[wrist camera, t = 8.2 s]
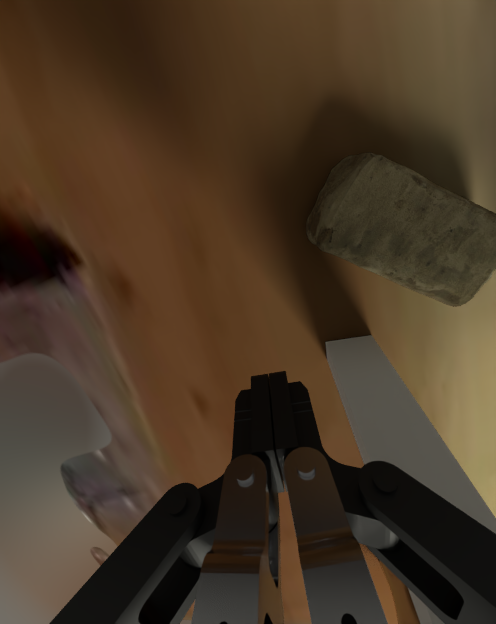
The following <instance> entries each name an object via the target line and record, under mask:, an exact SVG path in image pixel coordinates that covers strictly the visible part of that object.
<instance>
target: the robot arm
mask: <svg viewBox="0 0 496 624" xmlns="http://www.w3.org/2000/svg"><path fill="white" fill-rule="evenodd" d="M234 421H235V422H234V433H233V449H232V459H231V462H230V464H229V465H228V466H227V468H226V470H225V473H224V474H223V475H222V476H221V477H219V478H218V479H217V480H215V481H213V482H211V483H209V484H207V485H205V486H203V487H201V488H199V489H197V488H196V486H194V485H193V484H190V483H181V484H178V485H175V486H174V487H172V488H171V489H169V490H168V491H167V492H166V493H165V494H164V495H163V497H162V498H161V499H160V500H159V501H158V502H157V503H156V504H155V506H154V507H153V508H152V509H151V510H150V511H149V512H148V513H147V515H146V516H145V517H144V518H143V519H142V520H141V521H140V522H139V524H138V525H137V526H136V527H135V528H134V529H133V530H132V531H131V533H130V534H129V535H128V536H127V537H126V538H125V539H124V540H123V542H122V543H121V544H120V545H119V546H118V547H117V548H116V549H115V551H114V552H113V553H112V554H111V555H110V556H109V557H108V558H107V559H106V561H105V562H104V563H103V564H102V565H101V566H100V567H99V569H98V570H97V571H96V572H95V573H94V574H93V575H92V576H91V578H90V579H89V580H88V581H87V582H86V583H85V584H84V585H83V586H82V588H81V589H80V590H79V591H78V592H77V593H76V594H75V595H74V597H73V598H72V599H71V600H70V601H69V602H68V603H67V605H66V606H65V607H64V608H63V609H62V610H61V611H60V612H59V614H58V615H57V616H56V617H55V618H54V619H53V620H52V621H51V622H50V624H180V622H181V621H182V619H183V618H184V616H185V614H186V613H187V611H188V610H189V608H190V607H191V605H192V603H193V602H194V600H195V599H196V600H195V605H194V611H193V617H192V622H191V624H285V623H284V610H283V602H282V593H281V554H280V516H279V501H278V493H279V492H284V484H285V488H286V492H287V491H288V495H289V500H290V505H291V511H292V516H293V521H294V527H295V532H296V537H297V543H298V551H299V557H300V563H301V568H302V574H303V579H304V584H305V590H306V595H307V600H308V606H309V611H310V616H311V622H312V624H388V623H387V620H386V617H385V614H384V612H383V609H382V606H381V603H380V600H379V598H378V595H377V592H376V589H375V586H374V583H373V581H372V578H371V575H370V572H369V569H368V567H367V564H366V561H365V558H364V555H363V553H362V550H361V548H360V545H359V543H361V544H364V545H366V546H367V548H368V549H369V550H370V551H371V552H372V553H373V554H374V555H375V556H376V557H377V558H378V559H379V560H380V561H381V562H382V563H383V564H384V565H385V566H386V567H387V568H388V569H389V570H390V571H391V572H392V573H393V574H394V575H395V576H396V577H397V578H398V579H400V580H401V581H402V582H403V583H404V584H405V585H406V586H407V587H408V588H409V589H410V590H411V591H412V592H413V593H414V594H415V595H416V596H417V597H418V598H419V599H420V600H421V601H422V602H423V603H424V604H425V605H426V606H427V607H428V608H429V609H430V610H431V611H432V612H433V613H434V614H435V615H436V616H437V617H438V618H439V619H440V620H441V621H442V622H443V623H444V624H496V534H495V533H494V532H492V531H491V530H489V529H488V528H486V527H485V526H484V525H482V524H481V523H479V522H478V521H476V520H475V519H473V518H472V517H470V516H469V515H467V514H466V513H464V512H463V511H461V510H460V509H459V508H457V507H456V506H454V505H453V504H451V503H450V502H448V501H447V500H445V499H444V498H442V497H441V496H439V495H438V494H436V493H435V492H434V491H432V490H431V489H429V488H428V487H426V486H425V485H423V484H422V483H420V482H419V481H417V480H416V479H414V478H413V477H411V476H410V475H409V474H407V473H406V472H404V471H403V470H401V469H400V468H398V467H397V466H395V465H393V464H391V463H388V462H385V461H372V462H369V463H367V464H365V465H364V466H363V467H362V468H357V467H352V466H347V465H344V464H341V463H338V462H336V461H335V460H333V459H332V458H330V457H329V456H328V455H327V453H326V452H325V451H324V449H323V447H322V444H321V440H320V436H319V432H318V428H317V424H316V421H315V417H314V413H313V409H312V405H311V402H310V397H309V393H308V390H307V388H306V387H305V386H304V385H303V384H302V383H301V382H300V381H299V382H292V383H288V381H287V376H286V371H282V372H275V373H269V376H268V374H263V375H257V376H251V389H247V390H241V391H240V393H239V395H238V397H237V399H236V401H235V417H234ZM283 480H284V483H283Z"/></svg>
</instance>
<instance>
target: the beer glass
mask: <svg viewBox="0 0 496 624" xmlns="http://www.w3.org/2000/svg"><path fill="white" fill-rule="evenodd" d="M379 563H380V566H381V568H382V570H383V573H384V575H385V577H386V579H387V582H388V584H389V587H390V590H391V592H392V596H393V600H394V604H395V609H396V614H397V620H398V624H420V621H419V618H418V615H417V612H416V610H415V607H414V604H413V601H412V598H411V595H410V593H409V590H408V587H407V586H406V585H405V584H404V583H403V582H402V581H401V580H400V579H398V578H397V577H396V576H395V575H394V574H393V573H392V572H391V571H390V570H389V569H388V568H387V567H386V566H385V565H384V564H383V563H382V562H381V561H380V560H379Z"/></svg>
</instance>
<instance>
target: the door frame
mask: <svg viewBox="0 0 496 624" xmlns="http://www.w3.org/2000/svg"><path fill="white" fill-rule="evenodd" d="M325 343H326V353H327V361H328V364H329V366H330V369H331V372H332V375H333V378H334V381H335V383H336V386H337V389H338V392H339V395H340V397H341V400H342V403H343V406H344V409H345V412H346V414H347V417H348V420H349V423H350V426H351V429H352V431H353V434H354V437H355V440H356V443H357V446H358V448H359V451H360V454H361V457H362V460H363V462H364V465H365V464H367V463H369V462H372V461H385V462H388V463H391V464H393V465H395V466H397V467H398V468H400V469H401V470H403V471H404V472H406V473H407V474H409V475H410V476H411V477H413V478H414V479H416V480H417V481H419V482H420V483H422V484H423V485H425V486H426V487H428V488H429V489H431V490H432V491H434V492H435V493H436V494H438V495H439V496H441V497H442V498H444V499H445V500H447V501H448V502H450V503H451V504H453V505H454V506H456V507H457V508H459V509H460V510H461V511H463V512H464V513H466V514H467V515H469V516H470V517H472V518H473V519H475V520H476V521H478V522H479V523H481V524H482V525H484V526H485V527H486V528H488V529H489V530H491V531H492V532H494V533H495V534H496V518H495V517H494V515H493V514H492V512H491V511H490V509H489V508H488V506H487V505H486V503H485V502H484V500H483V499H482V497H481V496H480V494H479V493H478V491H477V490H476V488H475V487H474V486H473V484H472V483H471V481H470V480H469V478H468V477H467V475H466V474H465V472H464V471H463V469H462V468H461V466H460V465H459V463H458V462H457V460H456V459H455V457H454V456H453V454H452V453H451V452H450V450H449V449H448V447H447V446H446V444H445V443H444V441H443V440H442V438H441V437H440V435H439V434H438V432H437V431H436V429H435V428H434V426H433V425H432V423H431V422H430V421H429V419H428V418H427V416H426V415H425V413H424V412H423V410H422V409H421V407H420V406H419V404H418V403H417V401H416V400H415V398H414V397H413V395H412V394H411V392H410V391H409V390H408V388H407V387H406V385H405V384H404V382H403V381H402V379H401V378H400V376H399V375H398V373H397V372H396V370H395V369H394V367H393V366H392V364H391V363H390V361H389V360H388V358H387V357H386V356H385V354H384V353H383V351H382V350H381V348H380V347H379V345H378V344H377V342H376V341H375V339H374V338H373V336H372V335H369V336H362V337H355V338H348V339H341V340H335V341H328V342H325ZM408 590H409V593H410V595H411V598H412V601H413V604H414V607H415V610H416V612H417V615H418V618H419V621H420V624H444V623H443V622H442V621H441V620H440V619H439V618H438V617H437V616H436V615H435V614H434V613H433V612H432V611H431V610H430V609H429V608H428V607H427V606H426V605H425V604H424V603H423V602H422V601H421V600H420V599H419V598H418V597H417V596H416V595H415V594H414V593H413V592H412V591H411V590H410V589H409V588H408Z"/></svg>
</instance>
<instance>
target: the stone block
mask: <svg viewBox="0 0 496 624" xmlns="http://www.w3.org/2000/svg"><path fill="white" fill-rule="evenodd" d="M306 234H307V237H308V239H309V240H310V241H311V243H312V244H315V245H316V246H317V247H318V248H319V249H320V250H321V251H324V252H327V253H330V254H333V255H336V256H338V257H340V258H342V259H345V260H347V261H349V262H351V263H353V264H355V265H357V266H359V267H361V268H364V269H366V270H369V271H371V272H373V273H376V274H378V275H380V276H382V277H384V278H386V279H388V280H391V281H393V282H395V283H397V284H399V285H402V286H404V287H406V288H408V289H411V290H413V291H415V292H418V293H420V294H422V295H425V296H428V297H431V298H433V299H435V300H438V301H440V302H442V303H445V304H447V305H450V306H453V307H454V306H461V305H463V304H465V303H466V302H468V301H469V300H471V299H472V298H473V297H474V295H475V294H476V293H477V292H478V291H479V289H480V288H481V287H482V286H483V285H484V284H485V283H486V282H487V281H488V280H489V279H490V278H491V275H492V273H493V271H494V270H495V269H496V214H495V213H493V212H491V211H489V210H487V209H485V208H483V207H481V206H480V205H477V204H475V203H473V202H471V201H469V200H467V199H465V198H463V197H461V196H459V195H457V194H455V193H452V192H450V191H449V190H447V189H445V188H443V187H441V186H439V185H436V184H434V183H433V182H431V181H429V180H428V179H426V178H425V177H423V176H422V175H420V174H418V173H417V172H415V171H413V170H411V169H409V168H407V167H405V166H403V165H400V164H398V163H395V162H393V161H391V160H389V159H387V158H386V157H384V156H382V155H376V154H373V153H370V152H369V153H361V154H359V155H355V156H353V155H350V156H348V157H346V158H344V159H343V160H341V161H340V162H339V163H338V164H337V165H336V166H335V167H334V168H333V169H332V170H331V172H330V174H329V176H328V178H327V181H326V183H325V185H324V187H323V188H322V189H321V191H320V192H319V195H318V198H317V201H316V204H315V206H314V208H313V209H312V211H311V213H310V215H309V216H308V219H307V223H306Z"/></svg>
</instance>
